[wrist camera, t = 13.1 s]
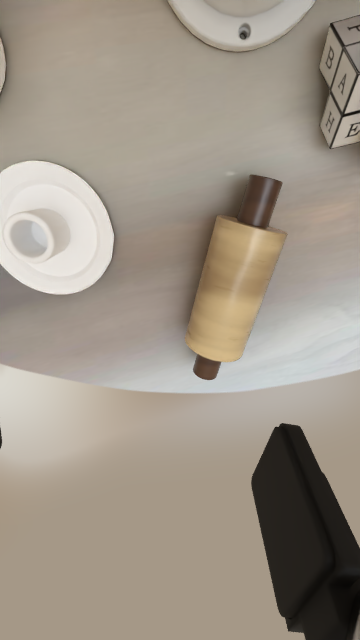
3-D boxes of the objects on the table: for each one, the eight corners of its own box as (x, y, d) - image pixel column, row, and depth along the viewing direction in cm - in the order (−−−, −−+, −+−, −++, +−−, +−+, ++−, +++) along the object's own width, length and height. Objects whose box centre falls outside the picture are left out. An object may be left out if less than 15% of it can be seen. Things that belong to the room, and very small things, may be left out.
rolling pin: (226, 171, 25) (233, 166, 20) (292, 187, 25) (316, 187, 20) (179, 351, 33) (175, 383, 28) (229, 363, 33) (235, 397, 28)
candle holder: (140, 243, 28) (133, 253, 24) (57, 313, 31) (39, 331, 27) (44, 127, 24) (17, 117, 20) (-39, 221, 27) (-77, 228, 23)
